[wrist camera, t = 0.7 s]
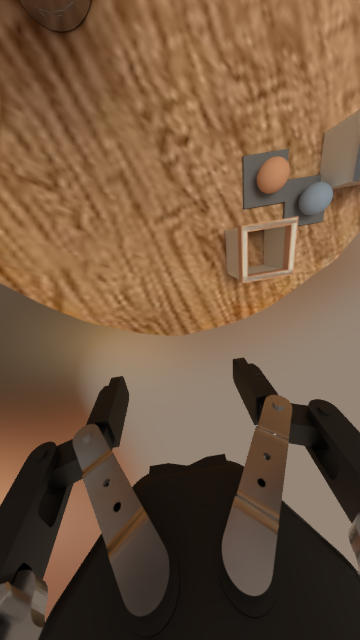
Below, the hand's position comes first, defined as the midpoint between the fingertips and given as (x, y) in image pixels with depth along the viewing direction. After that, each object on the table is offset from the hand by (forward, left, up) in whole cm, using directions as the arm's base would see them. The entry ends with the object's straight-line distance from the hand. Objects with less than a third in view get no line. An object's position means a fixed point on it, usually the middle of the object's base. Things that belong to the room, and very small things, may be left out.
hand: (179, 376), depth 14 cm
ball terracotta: (-15, +18, -24) cm, 34 cm away
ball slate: (-11, +25, -24) cm, 37 cm away
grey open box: (-5, +15, -25) cm, 29 cm away
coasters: (-13, +22, -25) cm, 35 cm away
